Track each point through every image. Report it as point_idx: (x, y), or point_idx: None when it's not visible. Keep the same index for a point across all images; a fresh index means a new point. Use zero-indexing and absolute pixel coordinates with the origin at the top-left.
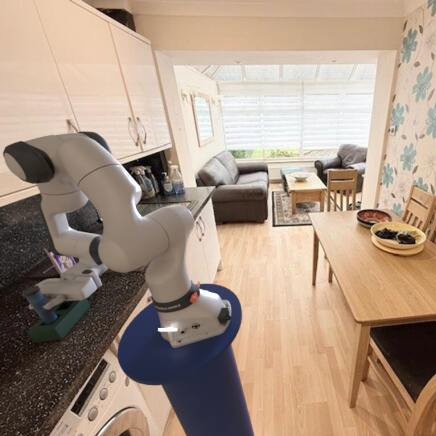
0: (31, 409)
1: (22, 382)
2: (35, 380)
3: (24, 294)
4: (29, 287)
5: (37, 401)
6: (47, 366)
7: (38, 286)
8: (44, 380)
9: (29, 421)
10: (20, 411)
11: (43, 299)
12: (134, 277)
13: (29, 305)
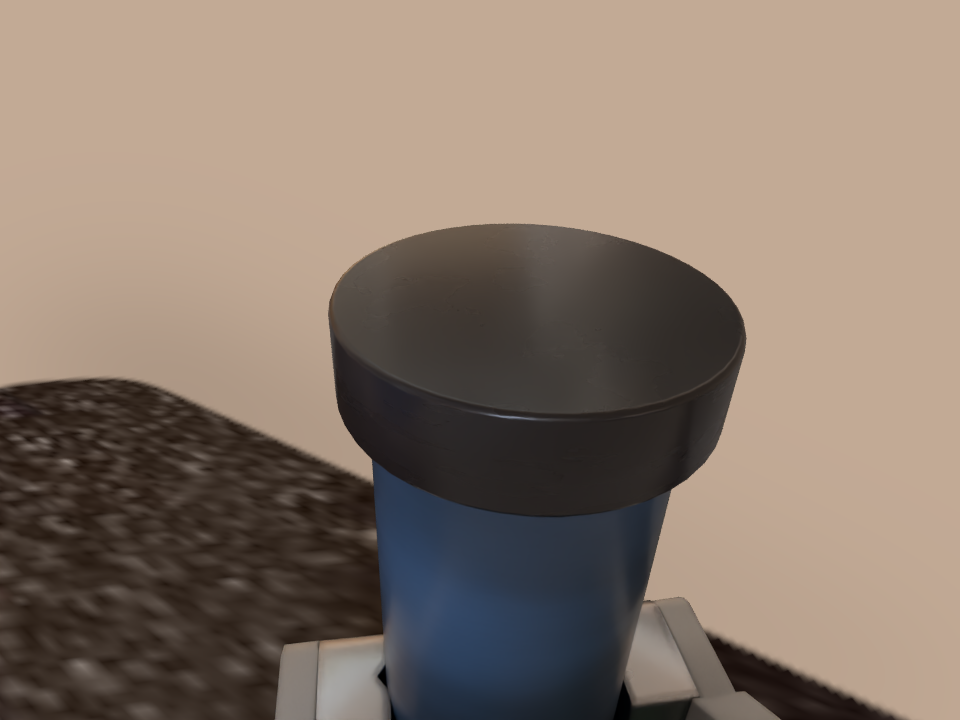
0: (73, 427)
1: (269, 500)
2: (187, 517)
3: (475, 226)
4: (743, 350)
5: (68, 450)
6: (181, 592)
7: (448, 401)
8: (118, 523)
9: (42, 401)
10: (130, 417)
11: (388, 640)
12: None
13: (677, 603)
